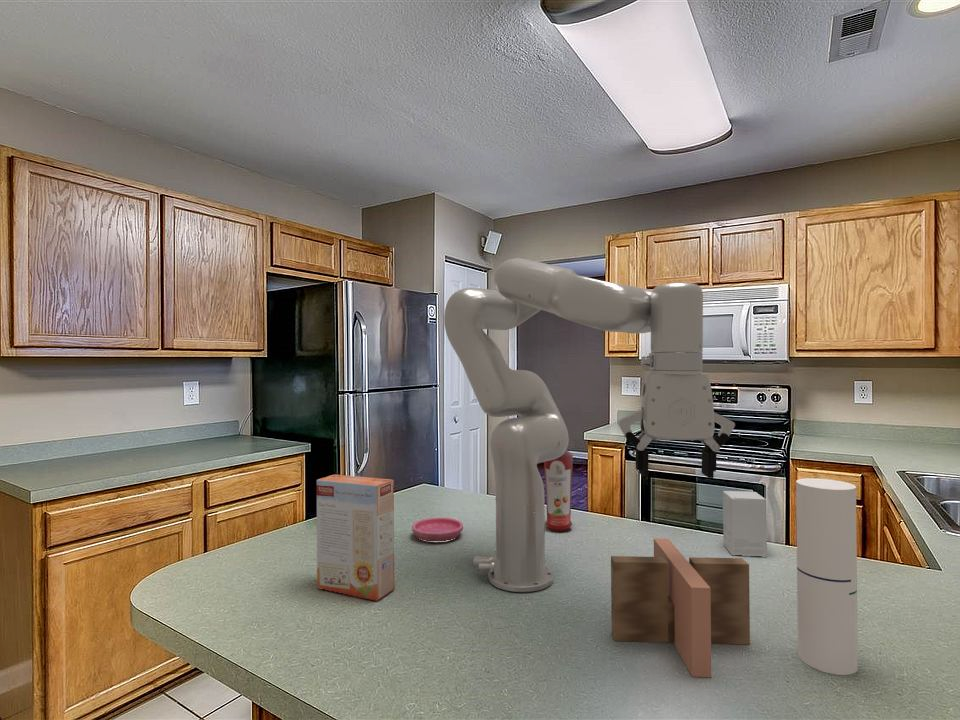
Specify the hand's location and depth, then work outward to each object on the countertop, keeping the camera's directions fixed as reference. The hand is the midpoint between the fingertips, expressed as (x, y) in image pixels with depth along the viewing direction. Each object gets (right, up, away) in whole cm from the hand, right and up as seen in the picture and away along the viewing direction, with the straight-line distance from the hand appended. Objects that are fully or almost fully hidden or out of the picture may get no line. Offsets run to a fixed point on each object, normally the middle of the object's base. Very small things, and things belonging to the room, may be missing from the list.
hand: (675, 475), depth 82 cm
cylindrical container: (+19, -25, -7) cm, 32 cm away
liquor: (-10, -25, +53) cm, 60 cm away
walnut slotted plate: (0, -25, 0) cm, 25 cm away
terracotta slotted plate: (+1, -25, 0) cm, 25 cm away
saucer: (-40, -26, +48) cm, 68 cm away
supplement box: (+29, -25, +37) cm, 53 cm away
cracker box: (-53, -26, +18) cm, 62 cm away
